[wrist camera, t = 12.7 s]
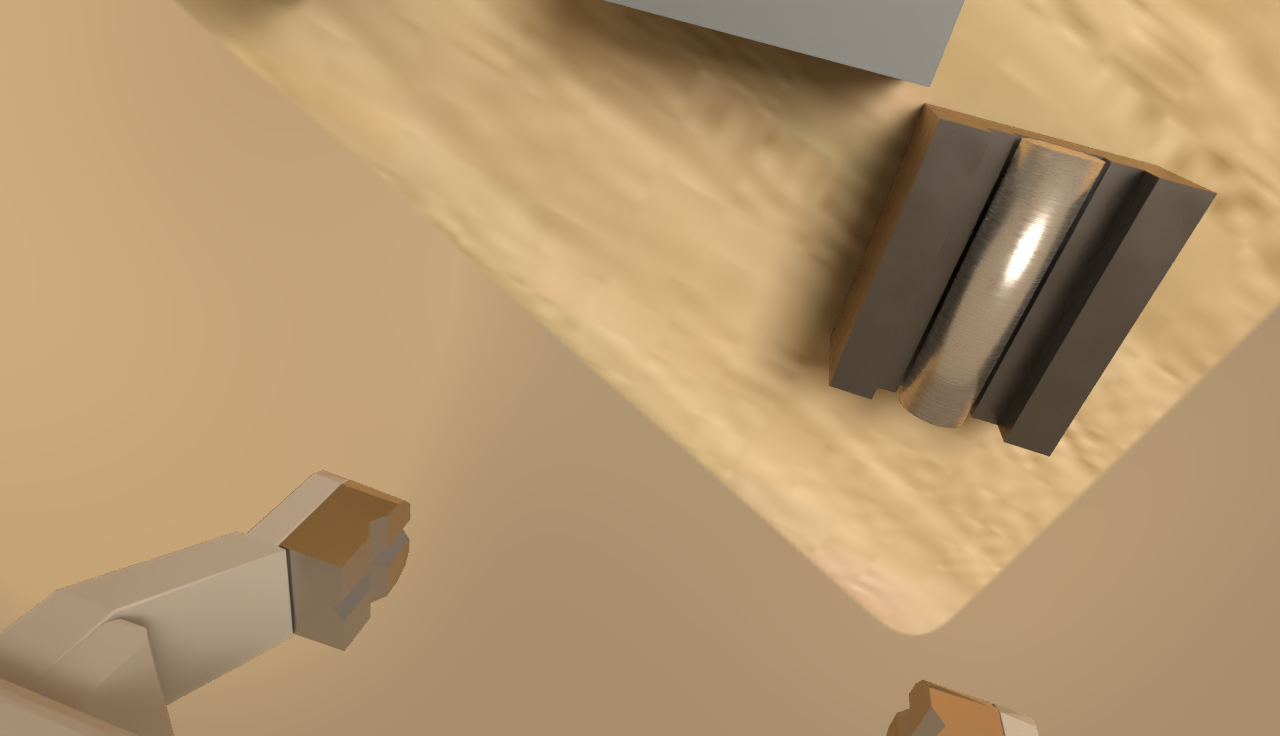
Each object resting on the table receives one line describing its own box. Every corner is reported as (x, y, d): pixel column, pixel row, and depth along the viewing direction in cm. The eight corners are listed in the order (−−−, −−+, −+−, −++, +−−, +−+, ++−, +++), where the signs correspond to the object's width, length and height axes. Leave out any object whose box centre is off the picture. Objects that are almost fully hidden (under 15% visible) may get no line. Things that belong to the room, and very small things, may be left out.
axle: (1018, 134, 28) (1026, 143, 26) (1097, 156, 28) (1112, 167, 25) (900, 383, 34) (897, 410, 32) (962, 406, 33) (964, 436, 31)
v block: (925, 103, 31) (940, 118, 26) (1157, 165, 30) (1217, 193, 25) (830, 338, 37) (828, 385, 32) (1021, 398, 36) (1049, 456, 31)
